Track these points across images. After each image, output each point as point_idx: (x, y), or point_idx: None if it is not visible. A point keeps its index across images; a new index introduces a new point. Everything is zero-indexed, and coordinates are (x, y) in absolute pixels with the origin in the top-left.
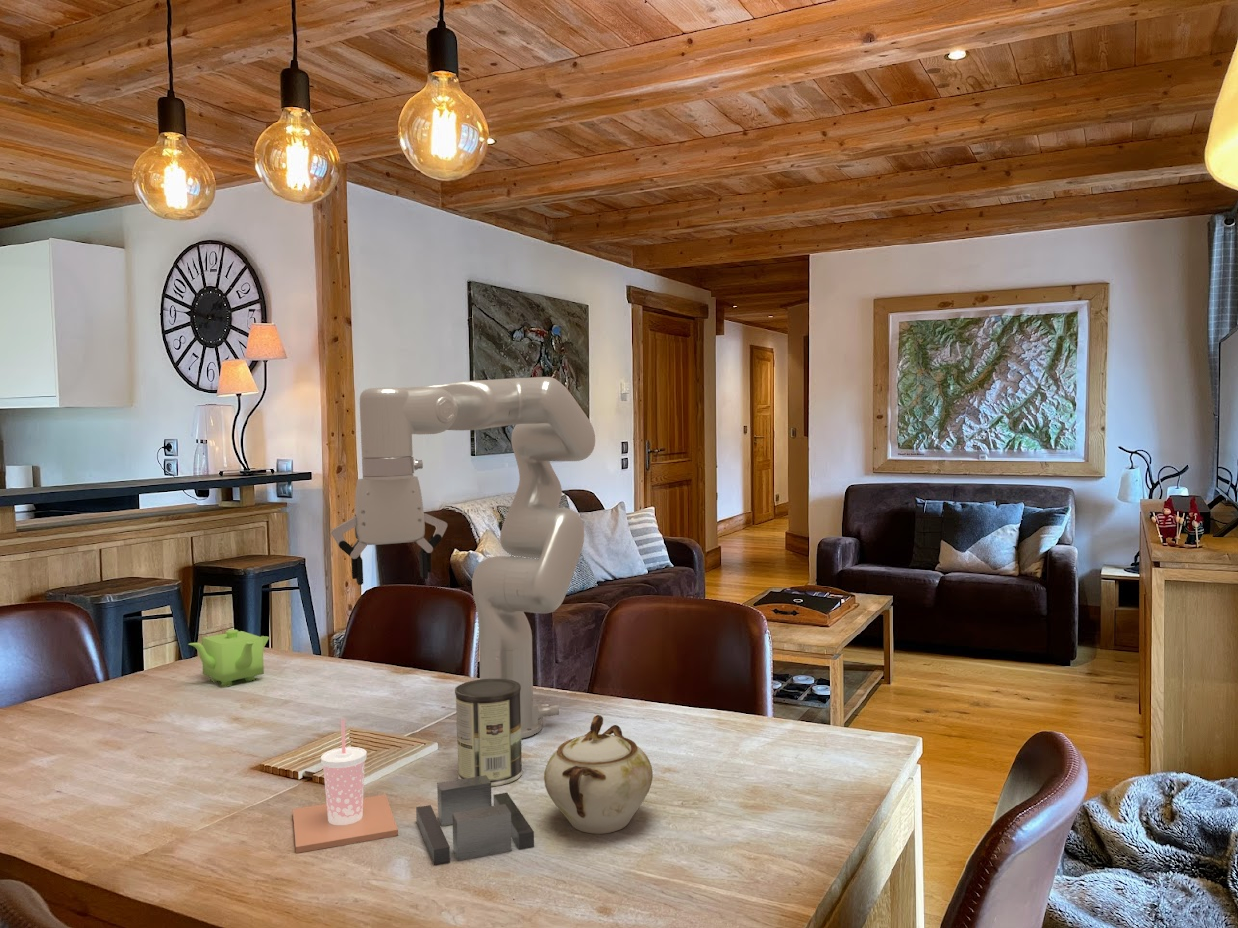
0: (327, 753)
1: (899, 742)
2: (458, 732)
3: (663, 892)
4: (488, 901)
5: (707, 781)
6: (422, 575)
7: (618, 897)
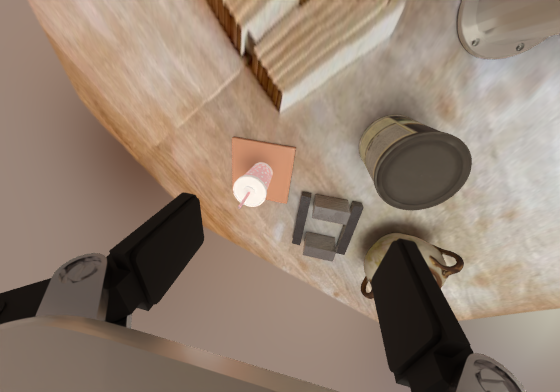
0: (238, 181)
1: None
2: (367, 155)
3: (363, 298)
4: (301, 270)
5: (505, 244)
6: (376, 280)
7: (346, 292)
